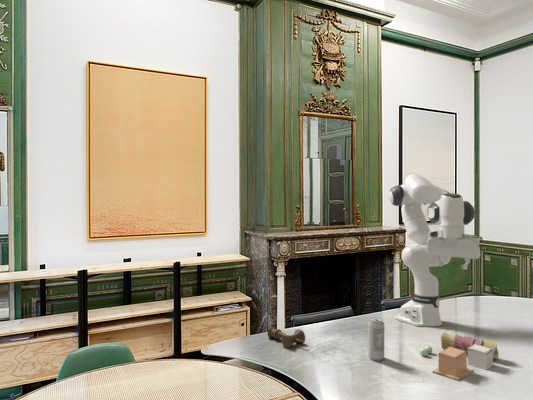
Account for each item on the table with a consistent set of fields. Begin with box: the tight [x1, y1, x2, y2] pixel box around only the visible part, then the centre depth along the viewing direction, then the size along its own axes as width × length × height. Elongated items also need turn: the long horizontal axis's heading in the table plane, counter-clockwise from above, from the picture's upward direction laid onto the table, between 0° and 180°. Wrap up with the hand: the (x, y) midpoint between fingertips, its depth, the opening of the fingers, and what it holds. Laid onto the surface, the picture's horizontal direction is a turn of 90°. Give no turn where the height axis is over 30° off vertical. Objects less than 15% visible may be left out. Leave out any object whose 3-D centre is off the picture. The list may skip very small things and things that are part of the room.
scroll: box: [440, 331, 499, 360], centre depth 157 cm, size 8×8×20 cm
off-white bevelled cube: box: [467, 344, 494, 370], centre depth 147 cm, size 6×6×6 cm
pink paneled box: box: [438, 347, 468, 377], centre depth 141 cm, size 6×9×6 cm, turn 131°
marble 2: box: [424, 345, 433, 355], centre depth 158 cm, size 3×3×3 cm
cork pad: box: [432, 367, 474, 382], centre depth 141 cm, size 9×12×1 cm
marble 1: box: [419, 347, 428, 357], centre depth 155 cm, size 3×3×3 cm
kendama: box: [267, 326, 306, 349], centre depth 170 cm, size 6×10×20 cm
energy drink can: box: [367, 317, 385, 362], centre depth 153 cm, size 6×6×15 cm
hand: (452, 267), depth 159 cm, fingers open, 8 cm apart
